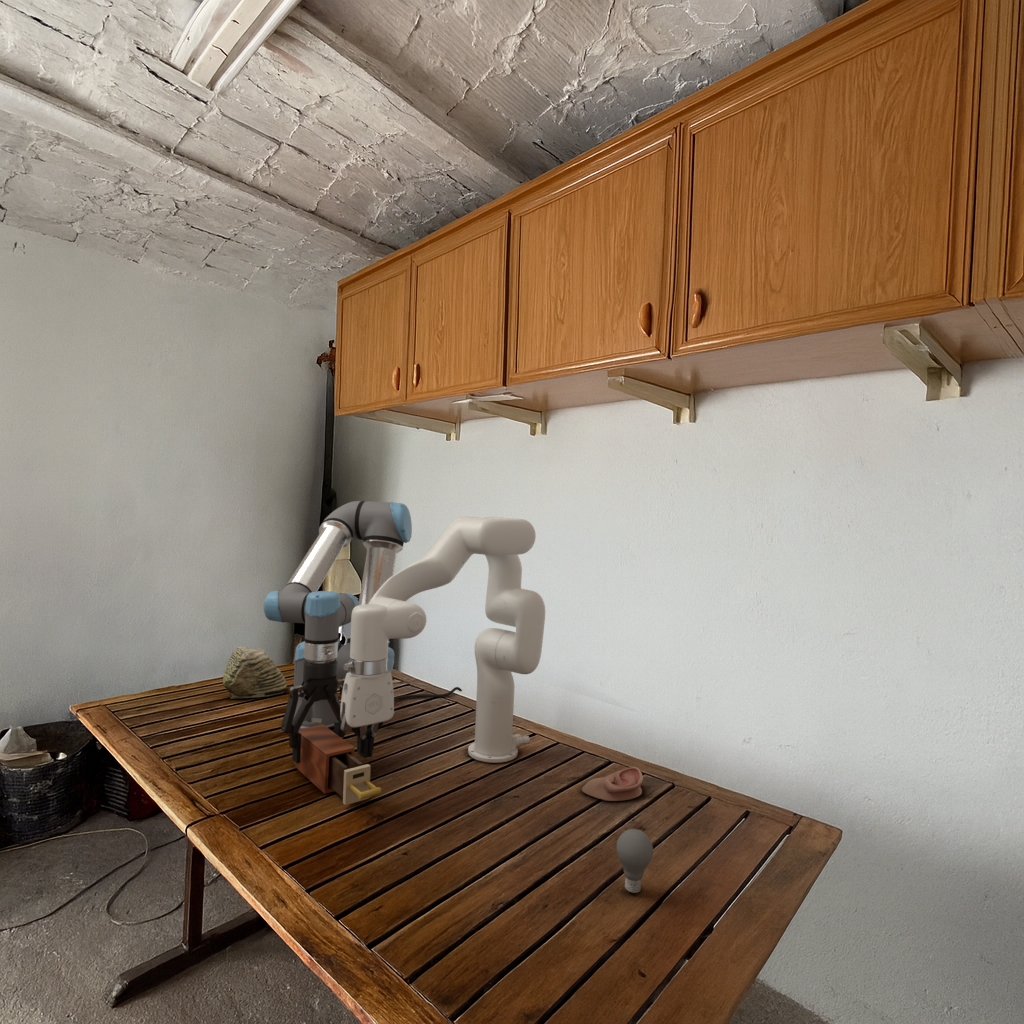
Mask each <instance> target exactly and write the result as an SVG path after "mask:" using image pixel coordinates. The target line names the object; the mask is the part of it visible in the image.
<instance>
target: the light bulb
mask: <svg viewBox="0 0 1024 1024" xmlns="http://www.w3.org/2000/svg"><path fill="white" fill-rule="evenodd" d="M615 849H616V854H617V857H618V859H619V861H620V863H621V865H622V867H623V873H624V874H623V875H624V876H625V878H624V888H625V890H627V891H628V892H630V893H634V894H635V893H639V892H640V891H641V889H642V887H641V886H642V879H643V877H644V875H645V871H646V868H647V867H648V866H649V864H650V863H651V861H652V859H653V855H654V847H653V843H652V841H651V838H649V836H648V835H647V834H646V833H645V832H643V831H642V830H641V829H636V828H629V829H627V830H625V831H623V832H622V833H621V834H620V835H619V837H618V839H617V841H616V847H615Z"/></svg>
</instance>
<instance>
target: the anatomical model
mask: <svg viewBox="0 0 1024 1024" xmlns="http://www.w3.org/2000/svg"><path fill="white" fill-rule="evenodd" d="M643 782H644V775H643V773H642V771H641V770H640V769H639V768H638V767H637V766H630V767H625V768H623V769H620V770H617V771H615V772H613V773H610V774H608V775H605V776H604V777H596V778H595V777H594V778H592V779H590V780H588V781H587V782H586V783H585V784H584V785H583V786H582V788H581V792H582V793H583V794H585V795H587V796H590V797H593V798H595V799H598V800H602V801H606V802H619V801H621V802H622V801H628V800H633V799H635V798H638V797H640V796H641V795H642V793H643V789H642V787H641V786H642V784H643Z"/></svg>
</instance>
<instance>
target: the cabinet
mask: <svg viewBox="0 0 1024 1024" xmlns="http://www.w3.org/2000/svg"><path fill="white" fill-rule="evenodd" d="M298 732H299V733H301V753H300V763H296V762H295V761H294V768H296V769H297V770H298V771H299V772H300V773H302V775H303V776H304V777H305V778H306V779H308V780H309V781H310V782H311V783H312V784H313V785H314V786H315V787H316V788H317V789H318V790H319V791H321V793H323V794H324V795H326V794H330V793H333V792H335V791H334V790H333V789H332V788H331V787H330V786H329V785H328V774H329V757H330V756H334V755H339V754H343V753H347V752H348V753H349V754H351V755H352V756H353V757H354V758H355V751H356V750H355V749H356V748H355V746H354V745H352V744H351V743H349V742H348V741H346V740H345V739H344V738H343V737H342V738H341V737H340V736H338V735H337V734H336V733H334V730H332V729H329V728H327V727H326V726H325V725H318V726H313V727H308V728H303V729H299V731H298Z"/></svg>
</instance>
